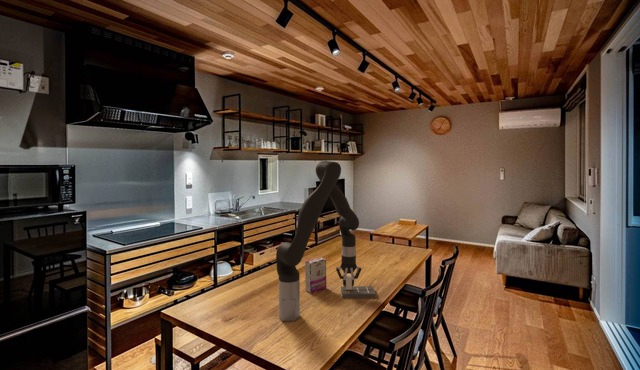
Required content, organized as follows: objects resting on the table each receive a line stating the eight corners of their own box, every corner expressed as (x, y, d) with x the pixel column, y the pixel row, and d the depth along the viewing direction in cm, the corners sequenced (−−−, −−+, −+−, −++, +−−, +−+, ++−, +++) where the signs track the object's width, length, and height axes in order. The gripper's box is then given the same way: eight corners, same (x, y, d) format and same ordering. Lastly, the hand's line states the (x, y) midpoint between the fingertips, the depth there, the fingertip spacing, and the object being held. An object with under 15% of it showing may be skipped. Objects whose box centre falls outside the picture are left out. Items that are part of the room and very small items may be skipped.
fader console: (375, 297, 169) (375, 293, 169) (342, 297, 169) (342, 293, 168) (372, 289, 179) (372, 286, 179) (340, 290, 178) (340, 286, 178)
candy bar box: (320, 285, 185) (320, 256, 183) (326, 288, 181) (326, 258, 179) (304, 290, 178) (304, 260, 176) (310, 293, 174) (310, 263, 172)
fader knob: (351, 291, 171) (351, 278, 171) (345, 291, 171) (346, 278, 171) (350, 288, 175) (350, 275, 175) (345, 288, 175) (345, 275, 175)
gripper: (335, 256, 168) (335, 289, 169) (363, 256, 168) (363, 289, 170) (334, 251, 175) (334, 283, 177) (361, 251, 176) (360, 283, 177)
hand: (348, 286), depth 173 cm, fingers closed on fader knob, 3 cm apart
